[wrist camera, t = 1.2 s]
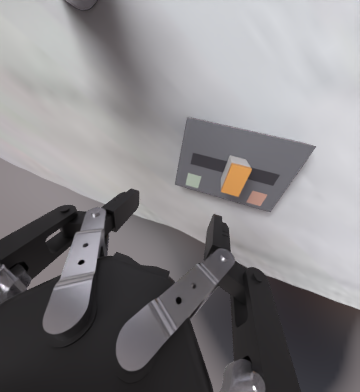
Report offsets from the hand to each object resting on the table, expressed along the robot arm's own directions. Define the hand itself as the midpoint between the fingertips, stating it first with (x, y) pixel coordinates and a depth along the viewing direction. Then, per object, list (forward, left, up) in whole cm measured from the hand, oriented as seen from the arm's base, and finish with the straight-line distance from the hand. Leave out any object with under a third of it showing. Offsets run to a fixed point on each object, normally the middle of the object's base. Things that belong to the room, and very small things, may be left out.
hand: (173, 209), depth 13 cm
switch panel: (+7, 0, -22) cm, 23 cm away
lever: (+7, 0, -17) cm, 19 cm away
